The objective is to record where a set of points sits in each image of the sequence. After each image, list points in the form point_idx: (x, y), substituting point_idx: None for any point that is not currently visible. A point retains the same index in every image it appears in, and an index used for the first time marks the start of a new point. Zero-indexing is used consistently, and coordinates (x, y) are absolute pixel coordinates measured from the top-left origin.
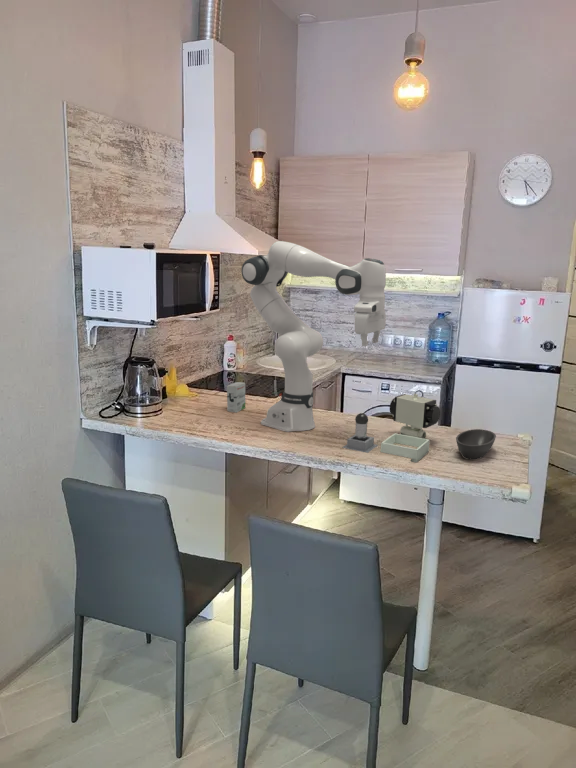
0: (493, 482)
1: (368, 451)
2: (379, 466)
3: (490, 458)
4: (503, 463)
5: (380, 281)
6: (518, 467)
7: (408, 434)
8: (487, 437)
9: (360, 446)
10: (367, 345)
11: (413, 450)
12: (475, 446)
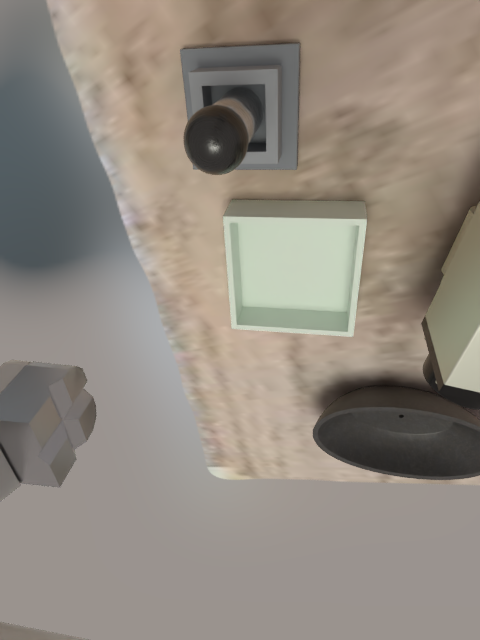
0: (225, 445)
1: None
2: (142, 232)
3: None
4: None
5: None
6: (344, 476)
7: (458, 236)
8: (473, 452)
9: None
10: (83, 420)
11: (231, 316)
12: (320, 446)
